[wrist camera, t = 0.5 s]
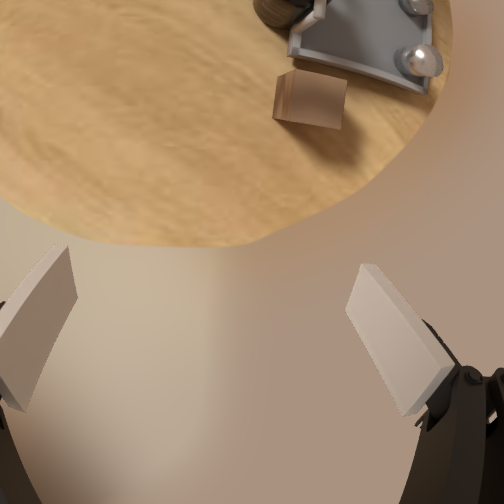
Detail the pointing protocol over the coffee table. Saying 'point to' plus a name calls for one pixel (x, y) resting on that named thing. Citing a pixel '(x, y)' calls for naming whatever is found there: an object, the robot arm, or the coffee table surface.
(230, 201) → the coffee table surface
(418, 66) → the silver rounded piece
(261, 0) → the supplement bottle
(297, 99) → the walnut block
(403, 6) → the silver metal dome
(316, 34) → the grey tray with handle
